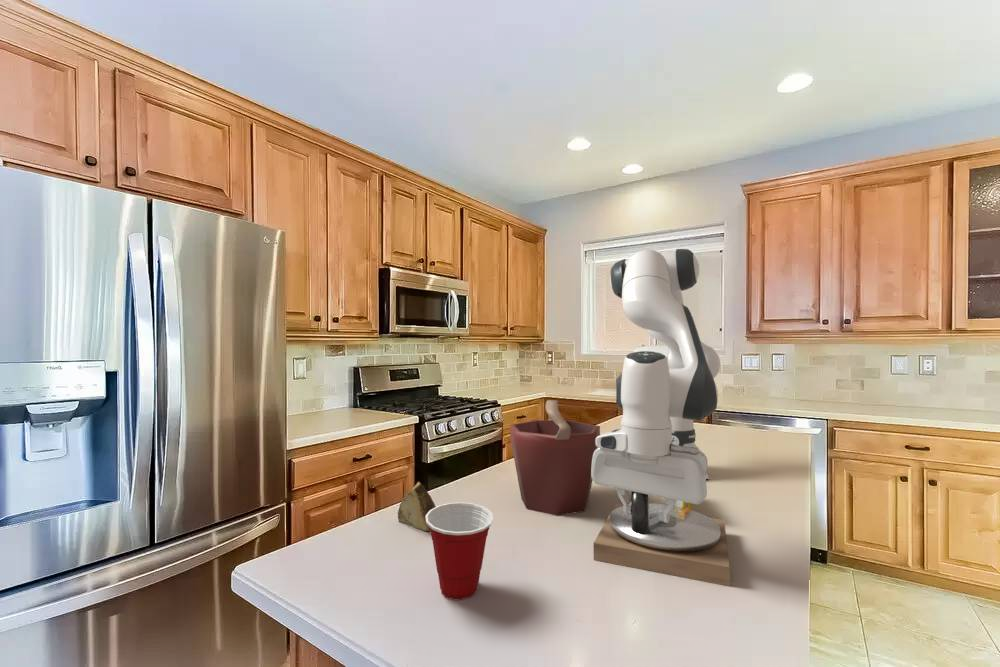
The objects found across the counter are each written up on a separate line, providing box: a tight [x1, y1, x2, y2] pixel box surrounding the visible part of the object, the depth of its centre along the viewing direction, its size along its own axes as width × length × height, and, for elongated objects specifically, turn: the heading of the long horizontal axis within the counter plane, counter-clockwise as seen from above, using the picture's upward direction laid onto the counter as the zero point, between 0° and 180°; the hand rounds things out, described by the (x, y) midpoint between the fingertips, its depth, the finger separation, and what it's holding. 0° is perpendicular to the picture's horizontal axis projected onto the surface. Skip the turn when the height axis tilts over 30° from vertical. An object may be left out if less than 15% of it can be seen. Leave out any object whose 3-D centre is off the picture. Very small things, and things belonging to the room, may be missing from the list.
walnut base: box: [593, 504, 731, 587], centre depth 88 cm, size 22×22×3 cm
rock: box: [397, 481, 437, 532], centre depth 99 cm, size 11×9×10 cm
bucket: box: [509, 399, 601, 516], centre depth 113 cm, size 24×22×25 cm
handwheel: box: [609, 491, 720, 551], centre depth 88 cm, size 20×20×8 cm
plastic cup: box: [425, 502, 494, 600], centre depth 72 cm, size 11×11×12 cm
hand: (646, 517), depth 83 cm, fingers open, 5 cm apart
